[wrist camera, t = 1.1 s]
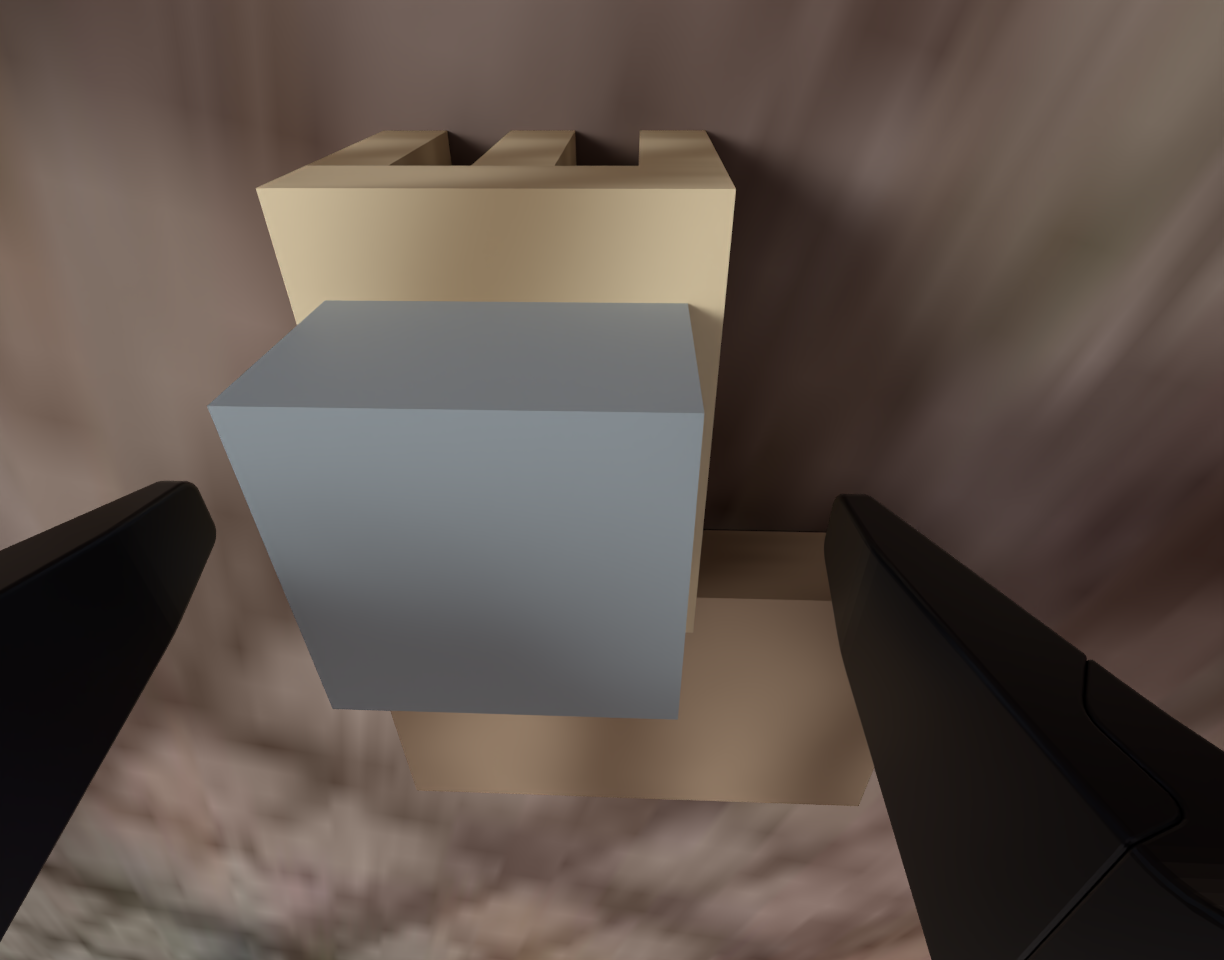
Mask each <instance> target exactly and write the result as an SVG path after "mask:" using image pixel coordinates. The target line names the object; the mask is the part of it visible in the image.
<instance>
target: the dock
mask: <svg viewBox="0 0 1224 960" xmlns="http://www.w3.org/2000/svg"><path fill="white" fill-rule="evenodd" d="M825 536H826V533H822V532H774V531H726V530H703V535H702V545H701V556H700V566H699V576H698V587H697V597H696V607H695V618H694V628H693V633H685V643H684V655H683V666H682V678H681V689H680V701H679V712H678V720H672V719H640V718H608V717H576V716H544V715H512V714H480V713H448V712H416V711H391V714H392V717H393V720H394V723H395V726H396V729H397V732H398V735H399V738H400V741H401V744H402V747H403V750H404V753H405V756H406V759H407V762H408V765H409V768H410V771H411V774H412V777H413V780H414V783H415V786H416V789H417V790H423V791H451V792H479V793H507V794H535V795H564V796H592V797H620V798H648V799H676V800H704V801H732V802H760V803H788V804H816V805H844V806H859V804H860V801H861V799H862V796H863V794H864V791H865V789H866V786H867V784H868V781H869V779H870V776H871V774H872V772H873V769H874V765H873V761H872V758H871V755H870V751H869V748H868V745H867V741H866V738H865V734H864V731H863V728H862V724H861V721H860V718H859V714H858V711H857V708H856V704H855V701H854V697H853V694H852V691H851V687H850V684H849V681H848V677H847V674H846V671H845V667H844V663H843V660H842V656H841V652H840V647H839V641H838V636H837V630H836V624H835V618H834V612H833V606H832V600H831V594H830V588H829V582H828V576H827V570H826V564H825V558H824V541H825Z"/></svg>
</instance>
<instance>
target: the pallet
mask: <svg viewBox="0 0 1224 960" xmlns="http://www.w3.org/2000/svg"><path fill="white" fill-rule="evenodd" d="M256 190H257V193H258V197H259V200H260V203H261V207H262V210H263V213H264V217H265V220H266V223H267V227H268V230H269V233H270V237H271V240H272V243H273V247H274V250H275V253H276V257H277V260H278V263H279V267H280V270H281V273H282V277H283V280H284V283H285V287H286V290H287V293H288V297H289V300H290V303H291V307H292V310H293V313H294V317H295V320H296V323H297V325H298V324H299V323H300V322H301V321H303V320H304V319H305V318H306V317H307V316H308V315H309V314H310V313H311V312H313V311H314V310H315V309H316V308H317V307H318V306H319V305H320V304H322V303H323V302H324V301H325V300H341V301H461V302H582V303H688V308H689V315H690V321H691V328H692V334H693V341H694V348H695V354H696V361H697V367H698V374H699V381H700V387H701V394H702V401H703V407H704V424H703V435H702V447H701V459H700V470H699V482H698V493H697V505H696V516H695V528H694V539H693V551H692V562H691V574H690V585H689V597H688V608H687V620H686V631H685V633H693V628H694V618H695V607H696V597H697V587H698V576H699V566H700V556H701V545H702V535H703V525H704V514H705V504H706V494H707V483H708V473H709V463H710V452H711V442H712V432H713V421H714V411H715V401H716V390H717V380H718V370H719V359H720V349H721V339H722V328H723V318H724V308H725V297H726V287H727V277H728V266H729V256H730V246H731V235H732V225H733V215H734V204H735V194H736V188H735V186H734V184H733V182H732V181H731V179H730V177H729V175H728V173H727V171H726V169H725V167H724V165H723V163H722V161H721V160H720V158H719V156H718V154H717V152H716V150H715V148H714V146H713V144H712V142H711V141H710V139H709V137H708V135H707V133H706V131H705V130H640V144H639V166H576V138H575V131H510V132H509V133H508V134H507V135H505V136H504V137H503V138H502V139H501V140H500V141H499V142H497V143H496V144H495V145H494V146H493V147H492V148H491V149H489V150H488V151H487V152H486V153H485V154H484V155H483V156H481V157H480V158H479V159H478V160H477V161H476V162H475V163H473V164H472V165H471V166H452V163H451V155H450V148H449V141H448V133H447V131H382V132H380V133H378V134H375V135H373V136H371V137H369V138H367V139H364V140H362V141H360V142H358V143H355V144H353V145H351V146H349V147H346V148H344V149H342V150H340V151H338V152H335V153H333V154H331V155H329V156H326V157H324V158H322V159H320V160H317V161H315V162H313V163H311V164H309V165H306V166H304V167H302V168H300V169H297V170H295V171H293V172H291V173H288V174H286V175H284V176H282V177H280V178H277V179H275V180H273V181H271V182H268V183H266V184H264V185H262V186H259V187H257V188H256Z"/></svg>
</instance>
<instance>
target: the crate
mask: <svg viewBox="0 0 1224 960" xmlns="http://www.w3.org/2000/svg"><path fill="white" fill-rule="evenodd" d="M207 407H208V409H209V412H210V414H211V417H212V419H213V422H214V424H215V426H216V429H217V431H218V434H219V436H220V438H221V441H222V443H223V446H224V448H225V450H226V453H227V455H228V458H229V460H230V462H231V465H232V467H233V470H234V472H235V475H236V477H237V479H238V482H239V484H240V487H241V489H242V491H243V494H244V496H245V499H246V501H247V503H248V506H249V508H250V511H251V513H252V515H253V518H254V520H255V523H256V525H257V527H258V530H259V532H260V535H261V537H262V540H263V542H264V544H265V547H266V549H267V552H268V554H269V556H270V559H271V561H272V564H273V566H274V568H275V571H276V573H277V576H278V578H279V580H280V583H281V585H282V588H283V590H284V592H285V595H286V597H287V600H288V602H289V605H290V607H291V609H292V612H293V614H294V617H295V619H296V621H297V624H298V626H299V629H300V631H301V633H302V636H303V638H304V641H305V643H306V645H307V648H308V650H309V653H310V655H311V657H312V660H313V662H314V665H315V667H316V670H317V672H318V674H319V677H320V679H321V682H322V684H323V686H324V689H325V691H326V694H327V696H328V698H329V701H330V703H331V706H332V708H333V709H352V710H384V711H416V712H448V713H480V714H512V715H544V716H576V717H608V718H640V719H672V720H678V712H679V701H680V689H681V678H682V666H683V655H684V643H685V631H686V620H687V608H688V597H689V585H690V574H691V562H692V551H693V539H694V528H695V516H696V505H697V493H698V482H699V470H700V459H701V447H702V435H703V424H704V407H703V401H702V394H701V387H700V381H699V374H698V367H697V361H696V354H695V348H694V341H693V334H692V328H691V321H690V315H689V308H688V303H582V302H461V301H341V300H325V301H324V302H323V303H322V304H320V305H319V306H318V307H317V308H316V309H315V310H314V311H313V312H311V313H310V314H309V315H308V316H307V317H306V318H305V319H304V320H303V321H301V322H300V323H299V324H298V325H297V326H296V327H295V328H294V329H293V330H291V331H290V332H289V333H288V334H287V335H286V336H285V337H284V338H283V339H281V340H280V341H279V342H278V343H277V344H276V345H275V346H274V347H272V348H271V349H270V350H269V351H268V352H267V353H266V354H265V355H264V356H262V357H261V358H260V359H259V360H258V361H257V362H256V363H255V364H254V365H252V366H251V367H250V368H249V369H248V370H247V371H246V372H245V373H243V374H242V375H241V376H240V377H239V378H238V379H237V380H236V381H235V382H233V383H232V384H231V385H230V386H229V387H228V388H227V389H226V390H225V391H223V392H222V393H221V394H220V395H219V396H218V397H217V398H216V399H214V400H213V401H212V402H211V403H210V404H209V405H208V406H207Z"/></svg>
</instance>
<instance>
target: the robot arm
mask: <svg viewBox="0 0 1224 960" xmlns="http://www.w3.org/2000/svg"><path fill="white" fill-rule="evenodd" d="M215 539H216V528H215V524H214V522H213V520H212V518H211V516H210V513H209V511H208V509H207V507H206V505H205V503H204V500H203V498H202V496H201V494H200V492H199V490H198V488H197V487H196V486H195V485H194V484H193V483H190V482H188V481H159V482H156V483H154V484H151V485H149V486H147V487H144V488H142V489H140V490H138V491H135V492H133V493H131V494H128V495H126V496H124V497H122V498H119V499H117V500H115V501H113V502H110V503H108V504H106V505H103V506H101V507H99V508H97V509H94V510H92V511H90V512H87V513H85V514H83V515H81V516H78V517H76V518H74V519H72V520H69V521H67V522H65V523H62V524H60V525H58V526H56V527H53V528H51V529H49V530H46V531H44V532H42V533H40V534H37V535H35V536H33V537H30V538H28V539H26V540H24V541H21V542H19V543H17V544H15V545H12V546H10V547H8V548H5V549H3V550H1V551H0V942H1V940H2V938H3V936H4V934H5V933H6V931H7V929H8V927H9V926H10V924H11V922H12V920H13V919H14V917H15V915H16V913H17V912H18V910H19V908H20V906H21V905H22V903H23V901H24V899H25V898H26V896H27V894H28V892H29V890H30V889H31V887H32V885H33V883H34V882H35V880H36V878H37V876H38V875H39V873H40V871H41V869H42V868H43V866H44V864H45V862H46V861H47V859H48V857H49V855H50V853H51V852H52V850H53V848H54V846H55V845H56V843H57V841H58V839H59V838H60V836H61V834H62V832H63V831H64V829H65V827H66V825H67V824H68V822H69V820H70V818H71V817H72V815H73V813H74V811H75V809H76V808H77V806H78V804H79V802H80V801H81V799H82V797H83V795H84V794H85V792H86V790H87V788H88V787H89V785H90V783H91V781H92V780H93V778H94V776H95V774H96V773H97V771H98V769H99V767H100V765H101V764H102V762H103V760H104V758H105V757H106V755H107V753H108V751H109V750H110V748H111V746H112V744H113V743H114V741H115V739H116V737H117V736H118V734H119V732H120V730H121V728H122V727H123V725H124V723H125V721H126V720H127V718H128V716H129V714H130V713H131V711H132V709H133V707H134V706H135V704H136V702H137V700H138V699H139V697H140V695H141V693H142V692H143V690H144V688H145V686H146V684H147V683H148V681H149V679H150V677H151V676H152V674H153V672H154V670H155V669H156V667H157V665H158V663H159V662H160V660H161V658H162V656H163V655H164V653H165V651H166V649H167V647H168V646H169V644H170V642H171V640H172V638H173V636H174V634H175V632H176V630H177V628H178V626H179V624H180V622H181V619H182V617H183V615H184V613H185V610H186V608H187V606H188V603H189V601H190V599H191V597H192V594H193V592H194V590H195V587H196V585H197V583H198V580H199V578H200V576H201V574H202V571H203V569H204V567H205V564H206V562H207V560H208V557H209V555H210V553H211V551H212V548H213V546H214V543H215ZM824 558H825V564H826V570H827V576H828V582H829V588H830V594H831V600H832V606H833V612H834V618H835V624H836V630H837V636H838V641H839V647H840V652H841V656H842V660H843V663H844V667H845V671H846V674H847V677H848V681H849V684H850V687H851V691H852V694H853V697H854V701H855V704H856V708H857V711H858V714H859V718H860V721H861V724H862V728H863V731H864V734H865V738H866V741H867V745H868V748H869V751H870V755H871V758H872V761H873V765H874V768H875V771H876V775H877V778H878V781H879V785H880V788H881V792H882V795H883V798H884V802H885V805H886V808H887V812H888V815H889V818H890V822H891V825H892V829H893V832H894V835H895V839H896V842H897V845H898V849H899V852H900V855H901V859H902V862H903V865H904V869H905V872H906V876H907V879H908V882H909V886H910V889H911V892H912V896H913V899H914V902H915V906H916V909H917V913H918V916H919V919H920V923H921V926H922V929H923V933H924V936H925V939H926V943H927V946H928V949H929V953H930V956H931V960H1224V751H1222V750H1221V749H1219V748H1218V747H1216V746H1215V745H1213V744H1212V743H1210V742H1209V741H1207V740H1206V739H1204V738H1203V737H1201V736H1200V735H1198V734H1197V733H1195V732H1194V731H1192V730H1191V729H1189V728H1188V727H1186V726H1185V725H1183V724H1182V723H1180V722H1179V721H1177V720H1176V719H1174V718H1173V717H1171V716H1170V715H1168V714H1167V713H1166V712H1164V711H1163V710H1161V709H1160V708H1159V707H1157V706H1156V705H1154V704H1153V703H1152V702H1150V701H1149V700H1147V699H1146V698H1144V697H1143V696H1142V695H1140V694H1139V693H1137V692H1136V691H1135V690H1133V689H1132V688H1130V687H1129V686H1128V685H1126V684H1125V683H1123V682H1122V681H1121V680H1119V679H1118V678H1117V677H1115V676H1114V675H1113V674H1111V673H1110V672H1108V671H1107V670H1106V669H1104V668H1103V667H1102V666H1100V665H1099V664H1098V663H1096V662H1095V661H1093V660H1087V657H1086V655H1085V654H1084V653H1082V652H1081V651H1080V650H1078V649H1077V648H1076V647H1074V646H1073V645H1072V644H1070V643H1069V642H1067V641H1066V640H1065V639H1063V638H1062V637H1061V636H1059V635H1058V634H1057V633H1055V632H1054V631H1053V630H1051V629H1050V628H1049V627H1047V626H1046V625H1044V624H1043V623H1042V622H1040V621H1039V620H1038V619H1036V618H1035V617H1034V616H1032V615H1031V614H1030V613H1028V612H1027V611H1025V610H1024V609H1023V608H1021V607H1020V606H1019V605H1017V604H1016V603H1015V602H1013V601H1012V600H1011V599H1009V598H1008V597H1007V596H1005V595H1004V594H1002V593H1001V592H1000V591H998V590H997V589H996V588H994V587H993V586H992V585H990V584H989V583H988V582H986V581H985V580H983V579H982V578H981V577H979V576H978V575H977V574H975V573H974V572H973V571H971V570H970V569H969V568H967V567H966V566H964V565H963V564H962V563H960V562H959V561H958V560H956V559H955V558H954V557H952V556H951V555H950V554H948V553H947V552H946V551H944V550H943V549H941V548H940V547H939V546H937V545H936V544H935V543H933V542H932V541H931V540H929V539H928V538H927V537H925V536H924V535H922V534H921V533H920V532H918V531H917V530H916V529H914V528H913V527H912V526H910V525H909V524H908V523H906V522H905V521H904V520H902V519H901V518H899V517H898V516H897V515H895V514H894V513H893V512H891V511H890V510H889V509H887V508H886V507H885V506H883V505H882V504H880V503H879V502H878V501H876V500H875V499H874V498H872V497H871V496H869V495H865V494H840V495H839V496H837V497H836V499H835V501H834V503H833V507H832V511H831V515H830V519H829V524H828V528H827V532H826V536H825V541H824Z"/></svg>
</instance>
